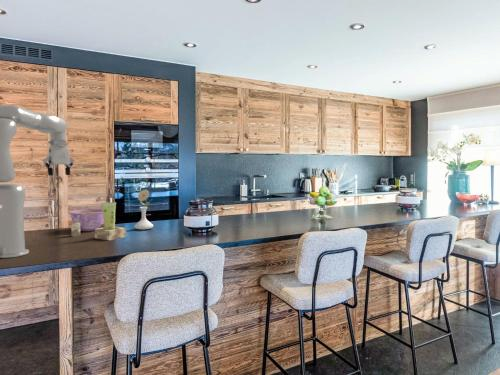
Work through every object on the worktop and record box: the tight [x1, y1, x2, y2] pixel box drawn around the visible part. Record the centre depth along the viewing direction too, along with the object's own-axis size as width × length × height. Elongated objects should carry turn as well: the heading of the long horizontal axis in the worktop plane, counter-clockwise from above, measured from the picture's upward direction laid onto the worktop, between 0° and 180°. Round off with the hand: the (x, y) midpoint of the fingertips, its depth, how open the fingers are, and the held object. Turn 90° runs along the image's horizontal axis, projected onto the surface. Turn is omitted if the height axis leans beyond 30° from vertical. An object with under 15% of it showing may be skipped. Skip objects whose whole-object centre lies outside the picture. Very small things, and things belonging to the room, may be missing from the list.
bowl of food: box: [69, 208, 104, 232], centre depth 218 cm, size 20×20×12 cm
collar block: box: [94, 226, 127, 241], centre depth 196 cm, size 11×12×5 cm
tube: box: [101, 201, 117, 230], centre depth 195 cm, size 6×5×20 cm
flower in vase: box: [133, 189, 154, 230], centre depth 220 cm, size 13×11×25 cm
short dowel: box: [70, 222, 81, 238], centre depth 200 cm, size 4×4×7 cm
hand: (59, 175), depth 195 cm, fingers open, 9 cm apart
